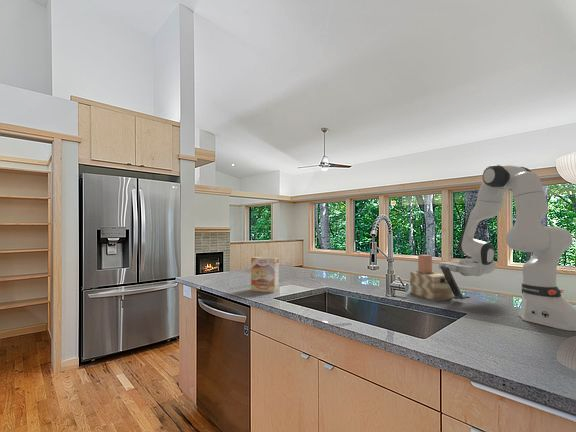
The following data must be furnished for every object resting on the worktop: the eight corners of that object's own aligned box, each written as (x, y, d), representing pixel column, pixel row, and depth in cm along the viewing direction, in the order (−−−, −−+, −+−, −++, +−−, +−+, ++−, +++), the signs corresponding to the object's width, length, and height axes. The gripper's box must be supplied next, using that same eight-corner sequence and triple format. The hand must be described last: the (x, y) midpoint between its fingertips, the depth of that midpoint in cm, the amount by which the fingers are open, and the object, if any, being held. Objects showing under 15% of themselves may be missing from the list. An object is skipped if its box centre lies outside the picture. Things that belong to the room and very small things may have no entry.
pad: (469, 297, 168) (469, 296, 168) (456, 298, 165) (456, 297, 165) (456, 293, 177) (456, 292, 177) (443, 294, 174) (443, 293, 174)
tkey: (464, 298, 157) (448, 266, 155) (461, 299, 157) (446, 268, 154) (452, 294, 165) (437, 264, 162) (449, 296, 164) (434, 266, 162)
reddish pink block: (431, 273, 174) (431, 255, 175) (424, 273, 173) (424, 255, 173) (425, 272, 179) (425, 254, 179) (418, 272, 178) (418, 254, 178)
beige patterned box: (452, 298, 165) (452, 275, 165) (434, 300, 161) (433, 276, 162) (427, 291, 182) (427, 270, 183) (410, 292, 179) (410, 270, 179)
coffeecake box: (250, 290, 181) (250, 257, 182) (255, 288, 188) (255, 256, 189) (274, 292, 177) (274, 258, 177) (278, 290, 183) (279, 257, 184)
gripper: (450, 258, 171) (430, 259, 167) (484, 263, 152) (461, 264, 148) (451, 270, 171) (430, 271, 167) (484, 276, 152) (461, 278, 147)
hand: (445, 268), depth 157 cm, fingers closed, pressing on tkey
